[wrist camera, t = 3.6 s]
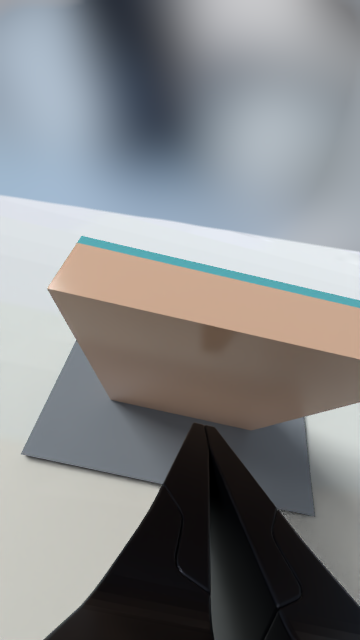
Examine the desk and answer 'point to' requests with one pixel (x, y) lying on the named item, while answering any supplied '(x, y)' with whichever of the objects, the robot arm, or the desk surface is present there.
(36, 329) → the desk surface
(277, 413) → the tile
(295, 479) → the mat
